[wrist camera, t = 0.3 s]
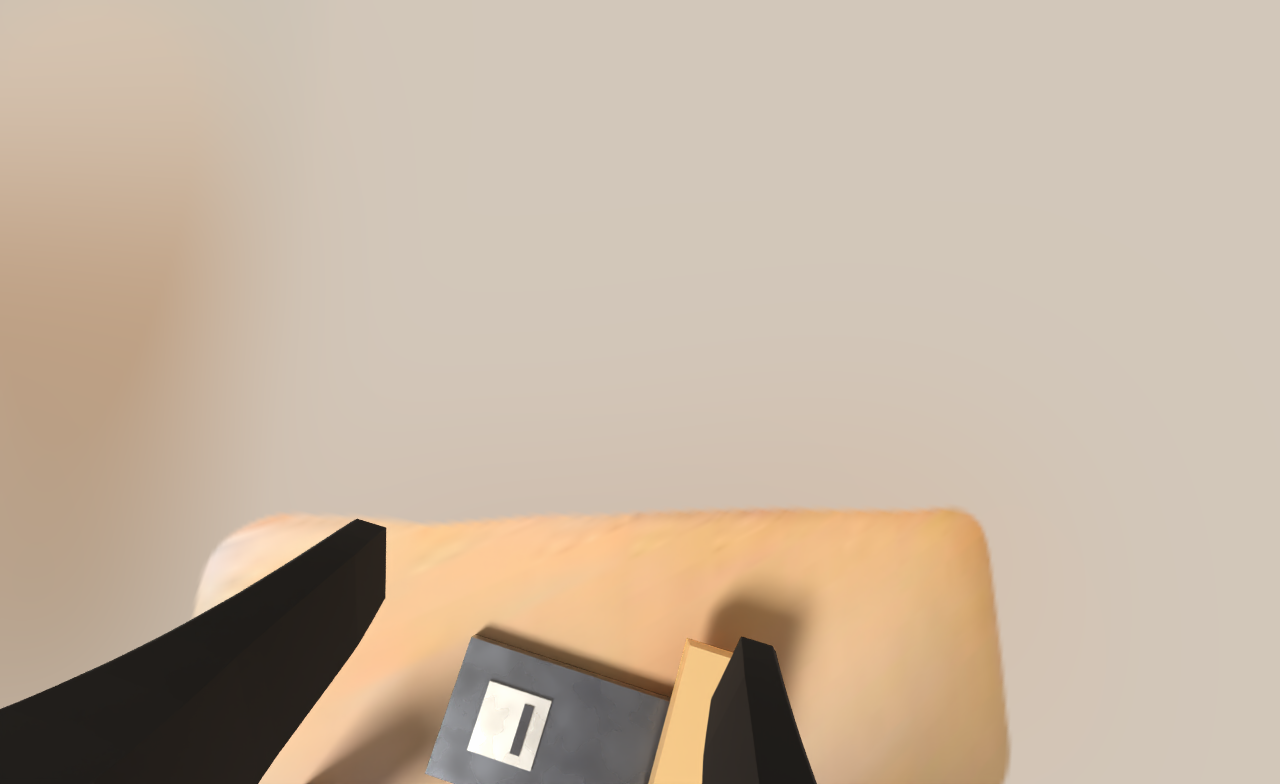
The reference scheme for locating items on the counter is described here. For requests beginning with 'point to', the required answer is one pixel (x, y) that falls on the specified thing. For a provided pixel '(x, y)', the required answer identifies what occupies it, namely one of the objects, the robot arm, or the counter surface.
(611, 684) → the panel
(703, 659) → the light wooden plank
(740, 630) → the counter surface
